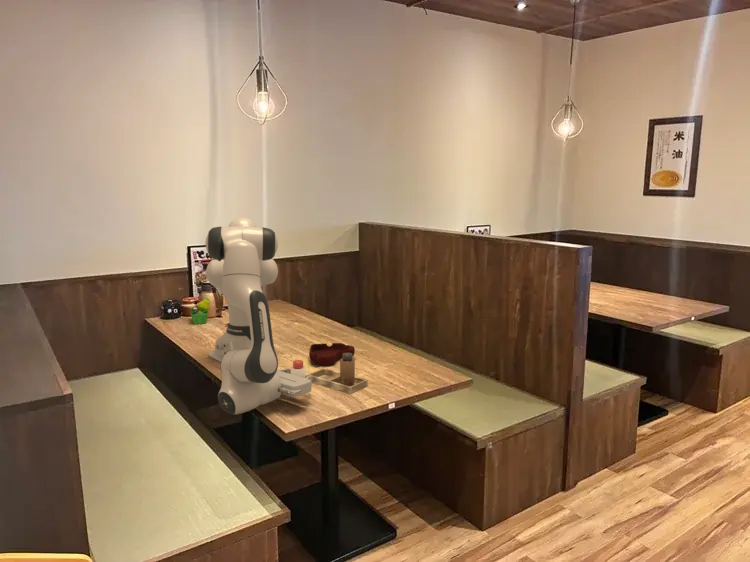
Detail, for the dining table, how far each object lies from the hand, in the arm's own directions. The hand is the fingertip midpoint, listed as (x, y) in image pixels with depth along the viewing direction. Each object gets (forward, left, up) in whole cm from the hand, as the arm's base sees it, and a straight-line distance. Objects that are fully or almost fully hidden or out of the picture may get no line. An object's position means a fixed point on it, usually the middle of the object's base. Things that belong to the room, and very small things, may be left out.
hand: (299, 374), depth 185 cm
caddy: (+5, +12, -7) cm, 15 cm away
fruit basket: (-98, +35, -7) cm, 105 cm away
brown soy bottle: (+10, +12, -6) cm, 16 cm away
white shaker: (0, -1, -7) cm, 7 cm away
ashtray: (-15, +30, -7) cm, 35 cm away
